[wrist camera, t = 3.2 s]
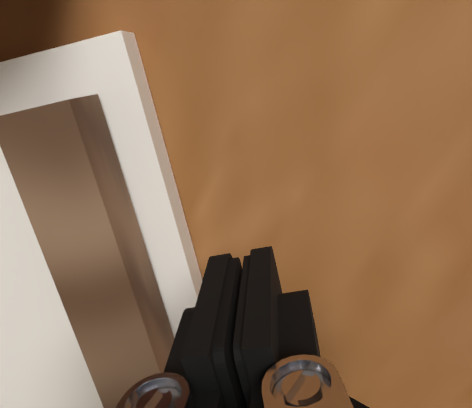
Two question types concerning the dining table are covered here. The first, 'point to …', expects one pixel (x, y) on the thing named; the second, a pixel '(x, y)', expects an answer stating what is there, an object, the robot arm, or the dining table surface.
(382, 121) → the dining table surface
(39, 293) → the pintle board
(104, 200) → the walnut link
